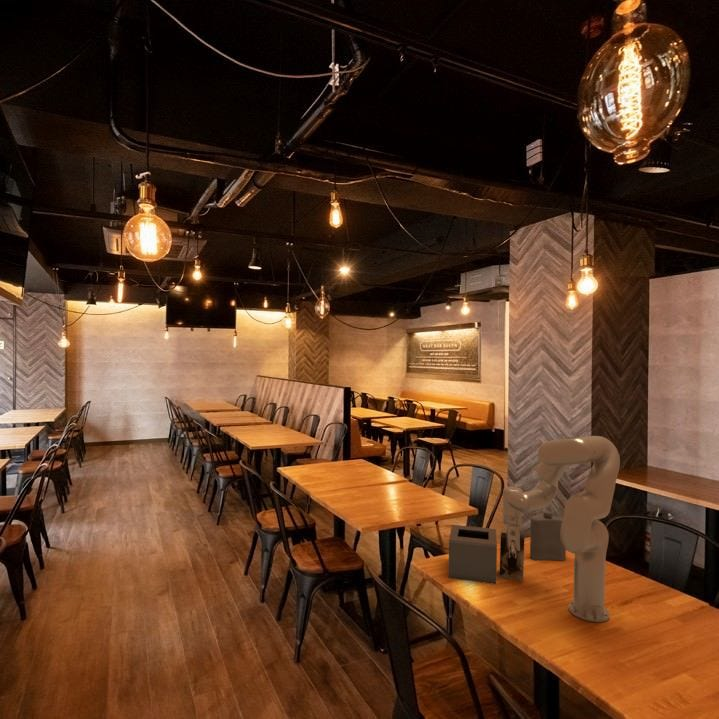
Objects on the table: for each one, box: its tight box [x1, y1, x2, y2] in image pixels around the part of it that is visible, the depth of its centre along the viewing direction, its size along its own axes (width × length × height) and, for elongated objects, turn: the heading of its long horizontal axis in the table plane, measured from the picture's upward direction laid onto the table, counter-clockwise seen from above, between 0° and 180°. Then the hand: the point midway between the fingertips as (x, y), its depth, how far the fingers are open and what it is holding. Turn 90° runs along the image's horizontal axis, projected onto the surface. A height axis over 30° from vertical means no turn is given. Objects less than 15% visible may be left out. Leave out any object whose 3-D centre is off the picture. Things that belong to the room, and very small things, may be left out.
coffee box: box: [498, 531, 525, 582], centre depth 193 cm, size 9×6×16 cm
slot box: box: [448, 524, 498, 585], centre depth 196 cm, size 18×18×15 cm
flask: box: [529, 510, 567, 562], centre depth 211 cm, size 15×6×20 cm, turn 90°
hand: (511, 563), depth 193 cm, fingers open, 6 cm apart
